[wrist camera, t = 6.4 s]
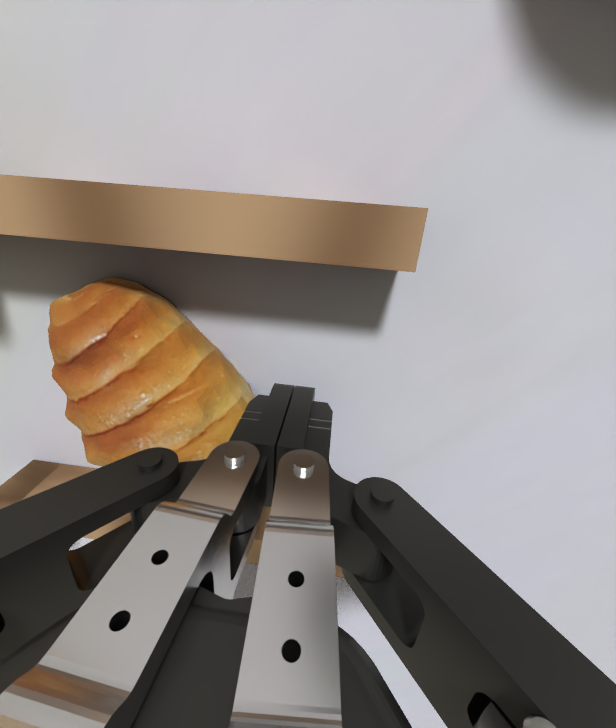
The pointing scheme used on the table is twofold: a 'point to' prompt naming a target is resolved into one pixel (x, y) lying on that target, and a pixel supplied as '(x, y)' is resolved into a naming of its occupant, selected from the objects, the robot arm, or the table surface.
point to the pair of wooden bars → (201, 251)
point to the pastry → (141, 374)
